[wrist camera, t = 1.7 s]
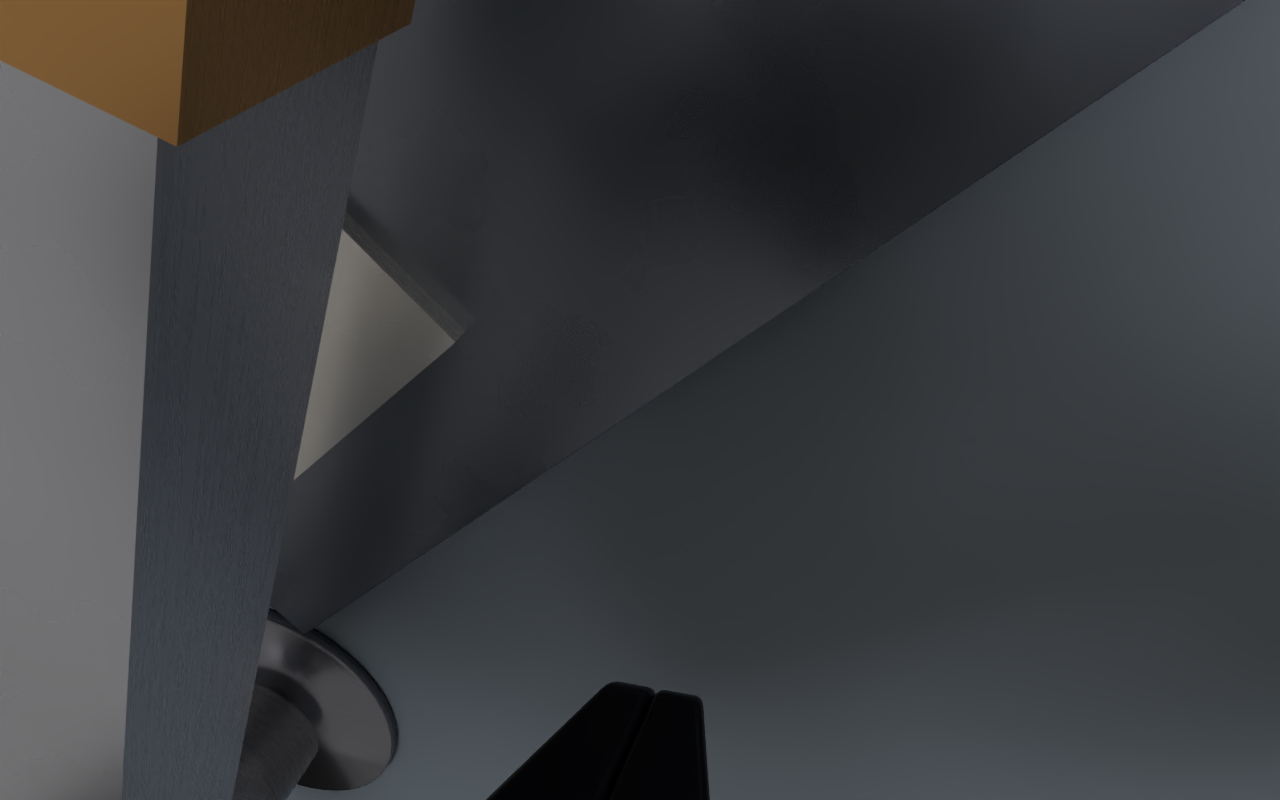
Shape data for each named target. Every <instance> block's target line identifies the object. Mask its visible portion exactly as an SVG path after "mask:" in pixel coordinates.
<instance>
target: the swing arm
mask: <svg viewBox="0 0 1280 800" xmlns="http://www.w3.org/2000/svg"><path fill="white" fill-rule="evenodd" d="M414 5H415V0H0V800H287V798H288V797H289V795H290V794H291V792H292V791H293V789H294V788H295V786H296V785H297V783H298V781H299V780H300V778H301V777H302V775H303V774H304V772H305V771H306V769H307V768H308V766H309V765H310V763H311V762H312V760H313V759H314V757H315V756H316V754H317V752H318V747H319V745H318V738H317V735H316V732H315V730H314V728H313V727H312V725H311V723H310V722H309V721H308V719H307V718H306V717H305V716H304V715H303V713H302V712H301V711H300V710H299V709H298V708H296V707H295V706H294V705H293V704H292V703H291V702H289V701H288V700H286V699H285V698H284V697H282V696H281V695H279V694H277V693H276V692H274V691H272V690H270V689H268V688H266V687H264V686H261V685H258V684H256V683H255V678H256V673H257V668H258V663H259V657H260V652H261V647H262V642H263V637H264V631H265V626H266V621H267V616H268V611H269V606H270V600H271V595H272V590H273V585H274V580H275V574H276V569H277V564H278V559H279V554H280V549H281V543H282V538H283V533H284V528H285V523H286V517H287V512H288V507H289V502H290V497H291V492H292V486H293V481H294V476H295V471H296V466H297V460H298V455H299V450H300V445H301V440H302V434H303V429H304V424H305V419H306V414H307V409H308V403H309V398H310V393H311V388H312V383H313V377H314V372H315V367H316V362H317V357H318V352H319V346H320V341H321V336H322V331H323V326H324V320H325V315H326V310H327V305H328V300H329V294H330V289H331V284H332V279H333V274H334V269H335V263H336V258H337V253H338V248H339V243H340V237H341V232H342V227H343V222H344V217H345V212H346V206H347V201H348V196H349V191H350V186H351V180H352V175H353V170H354V165H355V160H356V154H357V149H358V144H359V139H360V134H361V129H362V123H363V118H364V113H365V108H366V103H367V97H368V92H369V87H370V82H371V77H372V72H373V66H374V61H375V56H376V51H377V46H378V41H379V40H381V39H383V38H384V37H386V36H388V35H390V34H392V33H394V32H396V31H398V30H400V29H402V28H403V27H405V26H407V25H409V24H411V19H412V14H413V10H414Z"/></svg>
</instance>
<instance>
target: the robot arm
mask: <svg viewBox="0 0 1280 800" xmlns="http://www.w3.org/2000/svg"><path fill="white" fill-rule="evenodd" d="M486 800H710V797H709V783H708V769H707V754H706V740H705V725H704V711H703V702H702V700H701V699H700V698H699V697H698V696H695V695H689V694H684V693H678V692H673V691H667V690H661V691H659V692H657V693H656V694H655V691H654V690H653V689H651V688H649V687H645V686H639V685H634V684H628V683H623V682H612V683H609V684H607V685H605V686H604V687H603V688H602V689H601V690H600V691H599V692H598V693H597V694H596V695H594V696H593V697H592V698H591V699H590V700H589V701H588V702H587V703H586V704H585V705H584V706H583V707H582V708H581V709H580V710H579V711H578V712H577V713H576V714H575V715H574V716H573V717H572V718H571V719H569V720H568V721H567V722H566V723H565V724H564V725H563V726H562V727H561V728H560V729H559V730H558V731H557V732H556V733H555V734H554V735H553V736H552V737H551V738H550V739H549V740H548V741H547V742H546V743H544V744H543V745H542V746H541V747H540V748H539V749H538V750H537V751H536V752H535V753H534V754H533V755H532V756H531V757H530V758H529V759H528V760H527V761H526V762H525V763H524V764H523V765H522V766H521V767H520V768H518V769H517V770H516V771H515V772H514V773H513V774H512V775H511V776H510V777H509V778H508V779H507V780H506V781H505V782H504V783H503V784H502V785H501V786H500V787H499V788H498V789H497V790H496V791H495V792H493V793H492V794H491V795H490V796H489V797H488V798H487V799H486Z"/></svg>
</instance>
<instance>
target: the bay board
mask: <svg viewBox="0 0 1280 800" xmlns="http://www.w3.org/2000/svg"><path fill="white" fill-rule="evenodd" d="M1243 1H1245V0H415V5H414V10H413V14H412V19H411V24H409V25H407V26H405V27H403V28H402V29H400V30H398V31H396V32H394V33H392V34H390V35H388V36H386V37H384V38H383V39H381V40H379V41H378V46H377V51H376V56H375V61H374V66H373V72H372V77H371V82H370V87H369V92H368V97H367V103H366V108H365V113H364V118H363V123H362V129H361V134H360V139H359V144H358V149H357V154H356V160H355V165H354V170H353V175H352V180H351V186H350V191H349V196H348V201H347V206H346V212H345V217H344V222H343V227H342V232H341V237H340V243H339V248H338V253H337V258H336V263H335V269H334V274H333V279H332V284H331V289H330V294H329V300H328V305H327V310H326V315H325V320H324V326H323V331H322V336H321V341H320V346H319V352H318V357H317V362H316V367H315V372H314V377H313V383H312V388H311V393H310V398H309V403H308V409H307V414H306V419H305V424H304V429H303V434H302V440H301V445H300V450H299V455H298V460H297V466H296V471H295V476H294V481H293V486H292V492H291V497H290V502H289V507H288V512H287V517H286V523H285V528H284V533H283V538H282V543H281V549H280V554H279V559H278V564H277V569H276V574H275V580H274V585H273V590H272V595H271V600H270V605H271V606H272V607H273V608H274V609H275V610H277V611H278V612H279V613H280V614H281V615H282V616H284V617H285V618H286V619H287V620H288V621H289V622H290V623H292V624H293V625H294V626H295V627H296V628H297V629H299V630H300V631H301V632H302V633H303V634H305V633H307V632H308V631H310V630H311V629H313V628H314V627H316V626H317V625H319V624H320V623H322V622H323V621H325V620H326V619H328V618H329V617H331V616H332V615H334V614H335V613H337V612H338V611H340V610H341V609H343V608H344V607H346V606H347V605H349V604H350V603H351V602H353V601H354V600H356V599H357V598H359V597H360V596H362V595H363V594H365V593H366V592H368V591H369V590H371V589H372V588H374V587H375V586H377V585H378V584H380V583H381V582H383V581H384V580H386V579H387V578H389V577H390V576H392V575H393V574H395V573H396V572H398V571H399V570H400V569H402V568H403V567H405V566H406V565H408V564H409V563H411V562H412V561H414V560H415V559H417V558H418V557H420V556H421V555H423V554H424V553H426V552H427V551H429V550H430V549H432V548H433V547H435V546H436V545H438V544H439V543H441V542H442V541H444V540H445V539H446V538H448V537H449V536H451V535H452V534H454V533H455V532H457V531H458V530H460V529H461V528H463V527H464V526H466V525H467V524H469V523H470V522H472V521H473V520H475V519H476V518H478V517H479V516H481V515H482V514H484V513H485V512H487V511H488V510H490V509H491V508H492V507H494V506H495V505H497V504H498V503H500V502H501V501H503V500H504V499H506V498H507V497H509V496H510V495H512V494H513V493H515V492H516V491H518V490H519V489H521V488H522V487H524V486H525V485H527V484H528V483H530V482H531V481H533V480H534V479H536V478H537V477H539V476H540V475H541V474H543V473H544V472H546V471H547V470H549V469H550V468H552V467H553V466H555V465H556V464H558V463H559V462H561V461H562V460H564V459H565V458H567V457H568V456H570V455H571V454H573V453H574V452H576V451H577V450H579V449H580V448H582V447H583V446H585V445H586V444H587V443H589V442H590V441H592V440H593V439H595V438H596V437H598V436H599V435H601V434H602V433H604V432H605V431H607V430H608V429H610V428H611V427H613V426H614V425H616V424H617V423H619V422H620V421H622V420H623V419H625V418H626V417H628V416H629V415H631V414H632V413H633V412H635V411H636V410H638V409H639V408H641V407H642V406H644V405H645V404H647V403H648V402H650V401H651V400H653V399H654V398H656V397H657V396H659V395H660V394H662V393H663V392H665V391H666V390H668V389H669V388H671V387H672V386H674V385H675V384H677V383H678V382H679V381H681V380H682V379H684V378H685V377H687V376H688V375H690V374H691V373H693V372H694V371H696V370H697V369H699V368H700V367H702V366H703V365H705V364H706V363H708V362H709V361H711V360H712V359H714V358H715V357H717V356H718V355H720V354H721V353H723V352H724V351H726V350H727V349H728V348H730V347H731V346H733V345H734V344H736V343H737V342H739V341H740V340H742V339H743V338H745V337H746V336H748V335H749V334H751V333H752V332H754V331H755V330H757V329H758V328H760V327H761V326H763V325H764V324H766V323H767V322H769V321H770V320H772V319H773V318H774V317H776V316H777V315H779V314H780V313H782V312H783V311H785V310H786V309H788V308H789V307H791V306H792V305H794V304H795V303H797V302H798V301H800V300H801V299H803V298H804V297H806V296H807V295H809V294H810V293H812V292H813V291H815V290H816V289H818V288H819V287H820V286H822V285H823V284H825V283H826V282H828V281H829V280H831V279H832V278H834V277H835V276H837V275H838V274H840V273H841V272H843V271H844V270H846V269H847V268H849V267H850V266H852V265H853V264H855V263H856V262H858V261H859V260H861V259H862V258H864V257H865V256H866V255H868V254H869V253H871V252H872V251H874V250H875V249H877V248H878V247H880V246H881V245H883V244H884V243H886V242H887V241H889V240H890V239H892V238H893V237H895V236H896V235H898V234H899V233H901V232H902V231H904V230H905V229H907V228H908V227H910V226H911V225H913V224H914V223H915V222H917V221H918V220H920V219H921V218H923V217H924V216H926V215H927V214H929V213H930V212H932V211H933V210H935V209H936V208H938V207H939V206H941V205H942V204H944V203H945V202H947V201H948V200H950V199H951V198H953V197H954V196H956V195H957V194H959V193H960V192H961V191H963V190H964V189H966V188H967V187H969V186H970V185H972V184H973V183H975V182H976V181H978V180H979V179H981V178H982V177H984V176H985V175H987V174H988V173H990V172H991V171H993V170H994V169H996V168H997V167H999V166H1000V165H1002V164H1003V163H1005V162H1006V161H1007V160H1009V159H1010V158H1012V157H1013V156H1015V155H1016V154H1018V153H1019V152H1021V151H1022V150H1024V149H1025V148H1027V147H1028V146H1030V145H1031V144H1033V143H1034V142H1036V141H1037V140H1039V139H1040V138H1042V137H1043V136H1045V135H1046V134H1048V133H1049V132H1051V131H1052V130H1054V129H1055V128H1056V127H1058V126H1059V125H1061V124H1062V123H1064V122H1065V121H1067V120H1068V119H1070V118H1071V117H1073V116H1074V115H1076V114H1077V113H1079V112H1080V111H1082V110H1083V109H1085V108H1086V107H1088V106H1089V105H1091V104H1092V103H1094V102H1095V101H1097V100H1098V99H1100V98H1101V97H1102V96H1104V95H1105V94H1107V93H1108V92H1110V91H1111V90H1113V89H1114V88H1116V87H1117V86H1119V85H1120V84H1122V83H1123V82H1125V81H1126V80H1128V79H1129V78H1131V77H1132V76H1134V75H1135V74H1137V73H1138V72H1140V71H1141V70H1143V69H1144V68H1146V67H1147V66H1148V65H1150V64H1151V63H1153V62H1154V61H1156V60H1157V59H1159V58H1160V57H1162V56H1163V55H1165V54H1166V53H1168V52H1169V51H1171V50H1172V49H1174V48H1175V47H1177V46H1178V45H1180V44H1181V43H1183V42H1184V41H1186V40H1187V39H1189V38H1190V37H1192V36H1193V35H1194V34H1196V33H1197V32H1199V31H1200V30H1202V29H1203V28H1205V27H1206V26H1208V25H1209V24H1211V23H1212V22H1214V21H1215V20H1217V19H1218V18H1220V17H1221V16H1223V15H1224V14H1226V13H1227V12H1229V11H1230V10H1232V9H1233V8H1235V7H1236V6H1238V5H1239V4H1241V3H1242V2H1243Z"/></svg>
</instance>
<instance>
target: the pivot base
mask: <svg viewBox="0 0 1280 800" xmlns="http://www.w3.org/2000/svg"><path fill="white" fill-rule="evenodd" d="M255 683H256V684H258V685H261V686H264V687H266V688H268V689H270V690H272V691H274V692H276V693H277V694H279V695H281V696H282V697H284V698H285V699H286V700H288V701H289V702H291V703H292V704H293V705H294V706H295V707H296V708H298V709H299V710H300V711H301V712H302V713H303V715H304V716H305V717H306V718H307V719H308V721H309V722H310V723H311V725H312V727H313V728H314V730H315V732H316V735H317V738H318V745H319V747H318V752H317V754H316V756H315V757H314V759H313V760H312V762H311V763H310V765H309V766H308V768H307V769H306V771H305V772H304V774H303V775H302V777H301V778H300V780H299V781H298V783H297V784H298V785H302V786H306V787H310V788H316V789H322V790H350V789H355V788H359V787H362V786H365V785H367V784H369V783H371V782H372V781H374V780H376V779H377V778H378V777H379V776H380V775H381V774H382V772H383V771H384V769H385V768H386V766H387V764H388V762H389V761H390V759H391V757H392V756H393V754H394V751H395V748H396V743H397V730H396V724H395V720H394V716H393V713H392V711H391V709H390V707H389V704H388V702H387V700H386V699H385V697H384V695H383V694H382V692H381V690H380V689H379V688H378V686H377V685H376V684H375V682H374V681H373V680H372V678H371V677H370V676H369V675H368V674H367V673H366V672H365V670H364V669H363V668H362V667H361V666H360V665H359V664H358V663H357V662H356V661H355V660H354V659H352V658H351V657H350V656H349V655H348V654H347V653H346V652H344V651H343V650H342V649H341V648H339V647H338V646H337V645H336V644H334V643H333V642H331V641H330V640H328V639H327V638H326V637H324V636H323V635H321V634H320V633H318V632H316V631H314V630H313V629H311V630H310V631H308V632H307V633H305V634H303V633H302V632H301V631H300V630H299V629H297V628H296V627H295V626H294V625H293V624H292V623H290V622H289V621H288V620H287V619H286V618H285V617H284V616H282V615H281V614H279V613H277V612H274V611H271V610H269V611H268V616H267V621H266V626H265V631H264V637H263V642H262V647H261V652H260V657H259V663H258V668H257V673H256V678H255Z"/></svg>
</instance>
